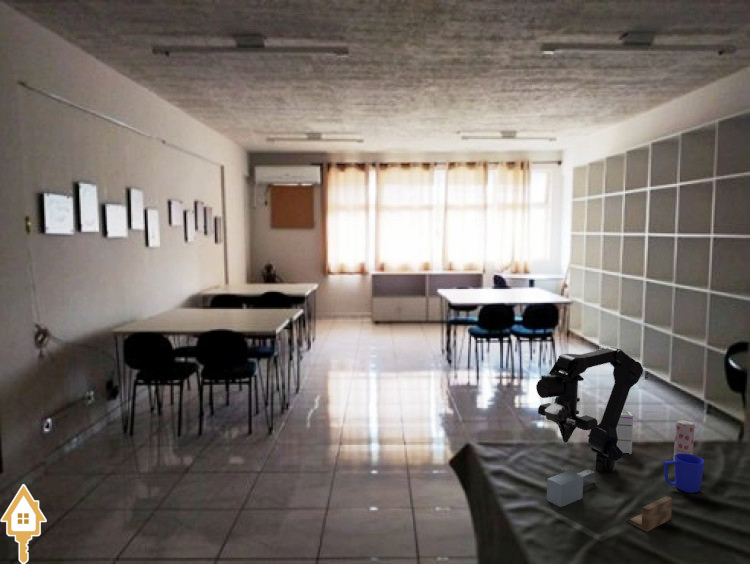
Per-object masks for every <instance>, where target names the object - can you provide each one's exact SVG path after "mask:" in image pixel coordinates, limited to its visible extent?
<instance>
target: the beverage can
mask: <svg viewBox="0 0 750 564" xmlns="http://www.w3.org/2000/svg"><path fill="white" fill-rule="evenodd" d="M674 433H675V434H674V435H675V436H674V447H673V448H674V449H673V460H672V461H675V458H674V456H675V455H676V454H680V453H684V454H691V455H694V452H693V451H694V439H695V423H694V421H691V420H688V419H683V418H682V419H677V420H676V423H675V432H674Z"/></svg>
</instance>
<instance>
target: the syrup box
mask: <svg viewBox="0 0 750 564" xmlns="http://www.w3.org/2000/svg"><path fill="white" fill-rule="evenodd" d="M633 428H634V415H633V414H632V412H631V411H630V410H625V409H623V410H622V413H621V416H620V419H619V422H618V425H617V428H616V431H617V436H618V441H617V447H618V448H619V449H620V450H621V451H622V452H623V453H629V454H628V455H632V453H633V452H632V451H633V434H634V433H633V432H634V431H633V430H634V429H633Z"/></svg>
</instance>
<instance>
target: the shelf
mask: <svg viewBox="0 0 750 564" xmlns="http://www.w3.org/2000/svg"><path fill="white" fill-rule="evenodd" d="M672 506H673V498H672V497H670V496H668V495H666V496H664V497H663V496H662V498H660V499H657V500H654V501H653V502H651V503H649V504H647V505H645V506H642V512H641V513H639V514H638V515H636V516H634V517H632V518H628V519H627V520H625V523H628V524H630V525H632V526H634V527H636V528H638V529H641V530H643V531H645V532H646V533H648V532H650V531H651V530H653V529H656V528H657V527H659V526H661V525H663V524H665V523H667V522H669V521H670V520H671V519H672V510H673V509H672ZM671 521H672V520H671Z"/></svg>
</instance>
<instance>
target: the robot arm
mask: <svg viewBox="0 0 750 564" xmlns="http://www.w3.org/2000/svg"><path fill="white" fill-rule="evenodd" d="M606 364H610V365H611V366H612V367H613V371H612V375H613V380H614V384H613V387H612V389H611V391H610V395H609V398H608V400H607V404H606V406H605V410H604V411H603V412H604V413H603V415H602V418H601V419H600V420H601V421H600V423H599V422H598V419H596V417H592V416H590V415H586V414H585V415H582V416H578V415H579V414H580V410H577V408H578V407H577V406H578V403H579V402H580V400H581V399H580V397H578V391H579V390H578V389H579V388H578V387H579V382H582V381H585V379H584V377H583V376H582V375H581V374H584V373H585V372H586V371H587V369H589V368H592V367H597V366H601V365H606ZM643 372H644V368H643V366H642V363H641V362H639V361H637V360H635V359H633V358H632V357H631V356H630V355H628V354H626V353H625V351H624V350H622V349H621V348H617V347H613V346H609V347H606V348H603V349H599V350H595V351H589V352H586V353H581V354H577V353H562V354H560V355H558V358H557V360H556V361H555V363H554V365H553V367H552V368H551V370H550V371H549V373H548V375H541V378H540V379H539V380H538V381H537V382H536V385H535V387H536V388H535V389H536V392H537V394H538V396H539V397H540V398H541V399H547V398H555V399H554V403H550V402H548V403H544V404H543V403H542V404H539V406H538V408H537V414H539V415H540V416H544V417H545V419H546V420H547V421H550V422H554V423H555V424H556V425H557V426H558V429H559V433H560V435H561V438H562V441H563V443H568V442H569V441H570V439H571V437H572V435H573V433H574V431H575V430H576V428H577V429H581V430H583V431H590V432H589V433H588V435H587V437H588V440H587V441H588V444H589V446H590V450H591V451H592V452H593V453H596V455H595V456H596V457H595V465H594V467H595V469H594V472H598V473H600V474H606V473H607V474H612V473H615V471H616V462H617V461H619V460H621V459H622V457H623V452H622V451H621V450H620V449H619V448H618V447H617V441H618V436H617V431H616V428H617V425H618V422H619V419H620V416H621V413H622V410H624V407H625V405H626V402H627V399H628V396H629V392H630V390H631V388H632V387H634V386H635V385H637V383H638V382H639V381H640V379H641V377H642V375H643ZM598 423H599V424H598Z"/></svg>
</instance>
